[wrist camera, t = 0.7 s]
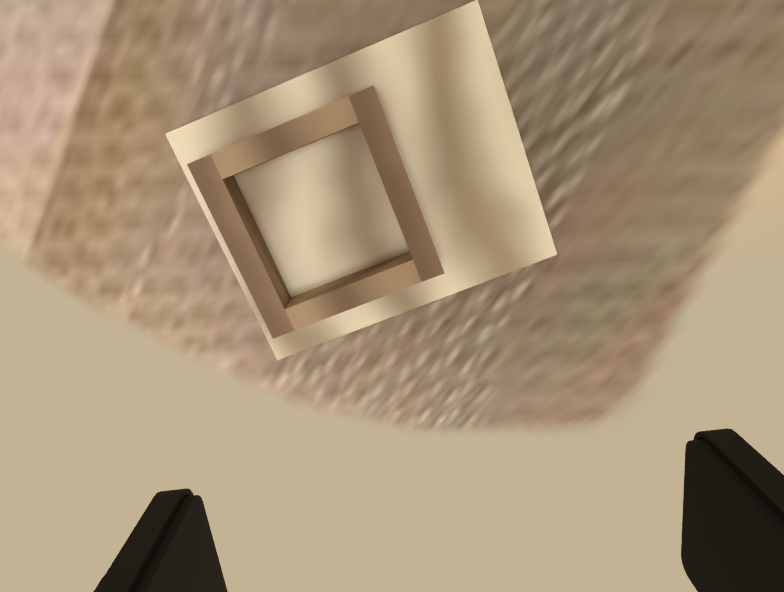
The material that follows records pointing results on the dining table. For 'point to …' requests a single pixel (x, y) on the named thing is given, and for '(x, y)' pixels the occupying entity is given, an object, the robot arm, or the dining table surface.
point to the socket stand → (369, 183)
